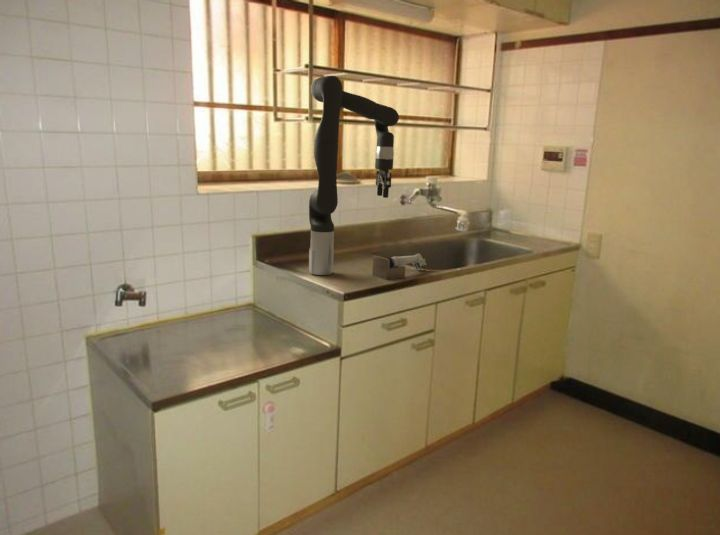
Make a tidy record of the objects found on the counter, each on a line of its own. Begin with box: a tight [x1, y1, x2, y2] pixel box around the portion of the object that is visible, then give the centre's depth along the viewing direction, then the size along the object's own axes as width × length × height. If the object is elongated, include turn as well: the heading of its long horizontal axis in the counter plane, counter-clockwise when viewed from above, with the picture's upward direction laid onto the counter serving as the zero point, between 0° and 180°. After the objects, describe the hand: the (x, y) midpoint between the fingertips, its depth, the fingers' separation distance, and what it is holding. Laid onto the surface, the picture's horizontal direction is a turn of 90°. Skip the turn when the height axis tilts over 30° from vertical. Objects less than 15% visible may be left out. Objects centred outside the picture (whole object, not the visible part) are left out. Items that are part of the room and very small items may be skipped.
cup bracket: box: [371, 255, 406, 281], centre depth 214 cm, size 9×9×8 cm
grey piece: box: [387, 253, 427, 270], centre depth 220 cm, size 5×7×25 cm
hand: (382, 196), depth 228 cm, fingers open, 8 cm apart
